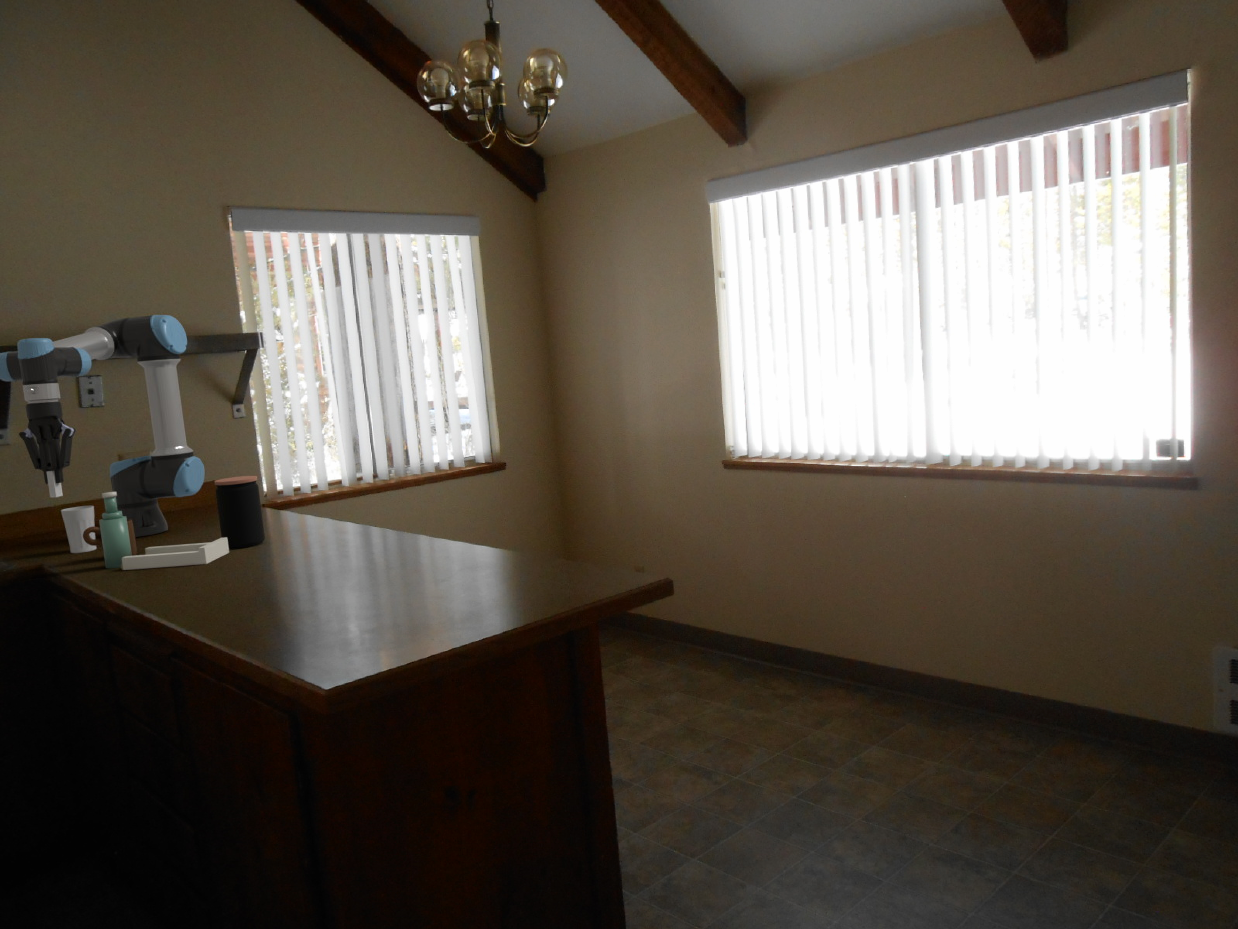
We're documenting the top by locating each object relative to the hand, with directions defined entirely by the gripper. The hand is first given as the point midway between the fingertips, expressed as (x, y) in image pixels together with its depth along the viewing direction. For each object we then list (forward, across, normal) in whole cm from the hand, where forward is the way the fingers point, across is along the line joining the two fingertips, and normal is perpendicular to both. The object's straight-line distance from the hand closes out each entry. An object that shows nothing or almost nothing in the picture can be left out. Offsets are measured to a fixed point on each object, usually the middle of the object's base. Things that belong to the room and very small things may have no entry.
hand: (56, 496), depth 230 cm
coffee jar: (+19, +38, +16) cm, 45 cm away
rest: (+19, +27, 0) cm, 33 cm away
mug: (+19, +5, +12) cm, 23 cm away
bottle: (+19, +13, 0) cm, 23 cm away
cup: (+19, -12, +28) cm, 35 cm away
